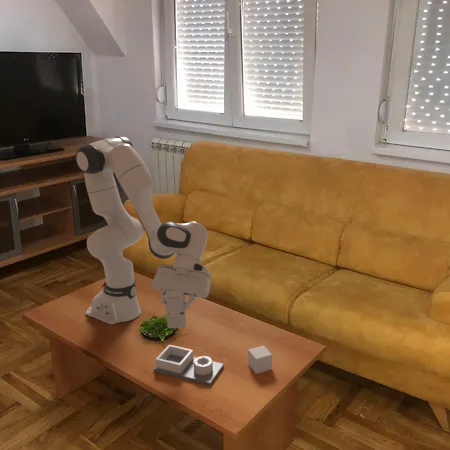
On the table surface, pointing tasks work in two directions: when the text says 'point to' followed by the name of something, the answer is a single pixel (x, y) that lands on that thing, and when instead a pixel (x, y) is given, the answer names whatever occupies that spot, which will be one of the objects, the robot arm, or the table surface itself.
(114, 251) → the robot arm
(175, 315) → the skincare box
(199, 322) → the table surface
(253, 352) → the light grey cube
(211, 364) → the socket holder
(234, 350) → the table surface
